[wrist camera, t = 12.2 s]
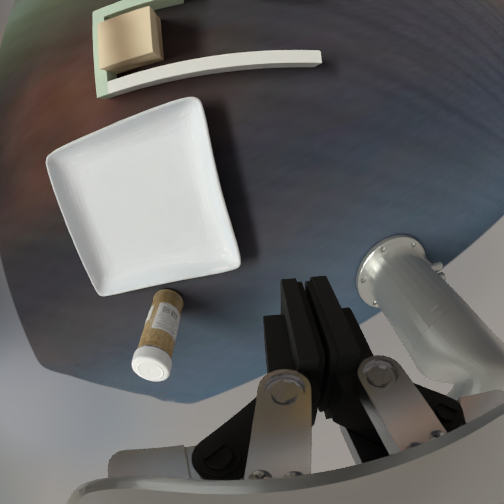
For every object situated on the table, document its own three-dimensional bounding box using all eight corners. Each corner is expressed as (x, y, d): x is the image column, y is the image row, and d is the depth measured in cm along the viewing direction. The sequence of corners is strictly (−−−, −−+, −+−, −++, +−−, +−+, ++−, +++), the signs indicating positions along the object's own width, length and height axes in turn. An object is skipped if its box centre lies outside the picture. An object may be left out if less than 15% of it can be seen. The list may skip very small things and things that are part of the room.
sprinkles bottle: (148, 295, 39) (122, 364, 27) (171, 282, 38) (150, 353, 26) (167, 316, 41) (149, 386, 29) (190, 305, 40) (178, 377, 28)
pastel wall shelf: (293, -50, 18) (297, -61, 15) (314, 67, 26) (322, 62, 24) (103, -20, 17) (95, -27, 15) (108, 98, 26) (97, 97, 23)
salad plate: (202, 94, 28) (199, 92, 25) (242, 256, 37) (243, 269, 34) (55, 152, 28) (41, 157, 25) (107, 285, 38) (99, 298, 35)
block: (160, 19, 22) (149, 5, 18) (164, 60, 25) (152, 52, 21) (114, 33, 22) (97, 23, 18) (117, 74, 25) (99, 69, 21)
